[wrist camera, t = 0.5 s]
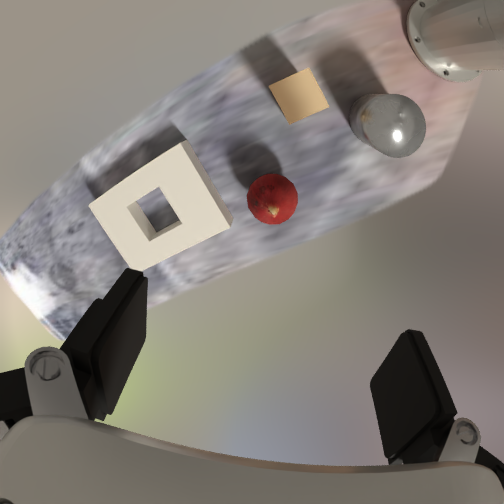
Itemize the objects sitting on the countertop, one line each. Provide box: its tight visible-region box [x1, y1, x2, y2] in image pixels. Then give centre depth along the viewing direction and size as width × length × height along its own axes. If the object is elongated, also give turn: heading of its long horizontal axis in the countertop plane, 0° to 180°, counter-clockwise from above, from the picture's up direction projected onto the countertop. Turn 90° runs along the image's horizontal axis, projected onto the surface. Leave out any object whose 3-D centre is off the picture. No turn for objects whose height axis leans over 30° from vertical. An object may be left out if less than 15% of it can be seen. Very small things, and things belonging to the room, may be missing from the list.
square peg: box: [269, 68, 329, 125], centre depth 30 cm, size 4×4×10 cm
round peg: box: [349, 94, 426, 158], centre depth 31 cm, size 7×7×8 cm
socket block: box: [89, 140, 233, 271], centre depth 41 cm, size 16×12×3 cm
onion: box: [247, 174, 298, 224], centre depth 36 cm, size 6×6×8 cm
